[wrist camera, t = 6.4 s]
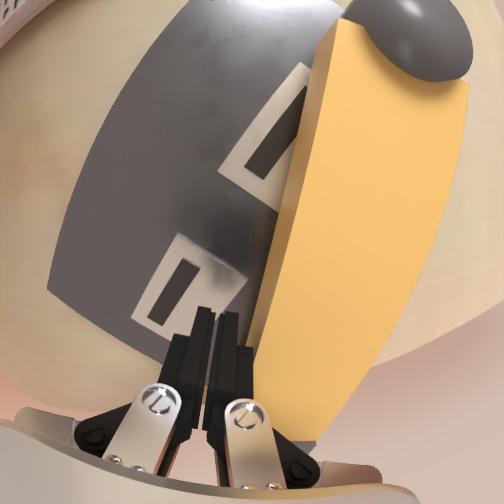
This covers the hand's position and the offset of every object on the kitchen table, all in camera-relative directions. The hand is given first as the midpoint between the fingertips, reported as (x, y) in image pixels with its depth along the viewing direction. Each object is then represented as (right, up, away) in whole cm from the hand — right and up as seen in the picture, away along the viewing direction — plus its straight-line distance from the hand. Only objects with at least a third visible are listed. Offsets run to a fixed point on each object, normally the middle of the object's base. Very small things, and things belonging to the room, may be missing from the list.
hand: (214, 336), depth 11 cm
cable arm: (+5, +4, +2) cm, 6 cm away
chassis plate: (0, +6, +3) cm, 7 cm away
